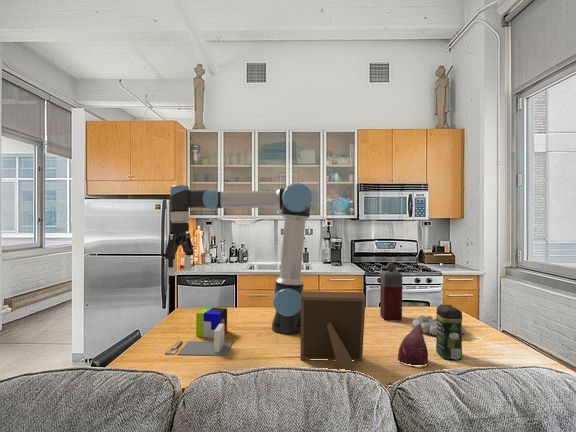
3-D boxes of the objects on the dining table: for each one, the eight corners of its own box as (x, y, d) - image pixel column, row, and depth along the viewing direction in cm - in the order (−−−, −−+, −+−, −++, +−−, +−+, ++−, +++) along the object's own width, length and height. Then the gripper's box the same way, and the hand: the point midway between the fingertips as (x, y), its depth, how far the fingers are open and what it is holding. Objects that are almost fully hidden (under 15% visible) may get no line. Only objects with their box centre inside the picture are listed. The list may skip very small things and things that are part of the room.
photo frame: (300, 355, 136) (301, 287, 136) (360, 357, 135) (361, 288, 135) (300, 373, 121) (300, 297, 121) (367, 375, 120) (368, 298, 120)
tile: (224, 343, 147) (224, 323, 147) (219, 352, 138) (219, 330, 138) (218, 343, 147) (218, 323, 147) (213, 352, 138) (213, 330, 138)
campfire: (422, 339, 155) (423, 325, 155) (405, 325, 176) (405, 312, 176) (474, 340, 156) (475, 326, 156) (450, 326, 177) (451, 313, 177)
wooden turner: (184, 343, 149) (184, 340, 149) (174, 355, 136) (174, 352, 136) (175, 342, 149) (175, 340, 149) (164, 354, 136) (164, 352, 136)
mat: (232, 342, 149) (232, 341, 149) (226, 355, 135) (226, 355, 135) (188, 341, 150) (188, 341, 150) (177, 355, 136) (177, 354, 136)
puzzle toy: (218, 338, 155) (218, 314, 155) (196, 336, 157) (196, 312, 157) (227, 330, 164) (227, 308, 164) (205, 329, 166) (206, 307, 166)
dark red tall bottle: (396, 314, 193) (397, 261, 193) (402, 321, 182) (402, 264, 181) (379, 314, 193) (379, 260, 193) (383, 320, 182) (384, 263, 182)
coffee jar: (433, 351, 142) (433, 302, 142) (453, 351, 142) (454, 303, 142) (442, 361, 132) (443, 309, 132) (465, 361, 132) (465, 309, 132)
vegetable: (420, 365, 136) (428, 324, 138) (431, 373, 126) (440, 329, 128) (392, 358, 136) (401, 317, 138) (401, 365, 126) (411, 321, 128)
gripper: (185, 221, 168) (186, 268, 168) (154, 222, 144) (155, 277, 144) (201, 221, 167) (201, 268, 167) (172, 222, 142) (173, 278, 142)
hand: (180, 272), depth 155 cm, fingers open, 13 cm apart
